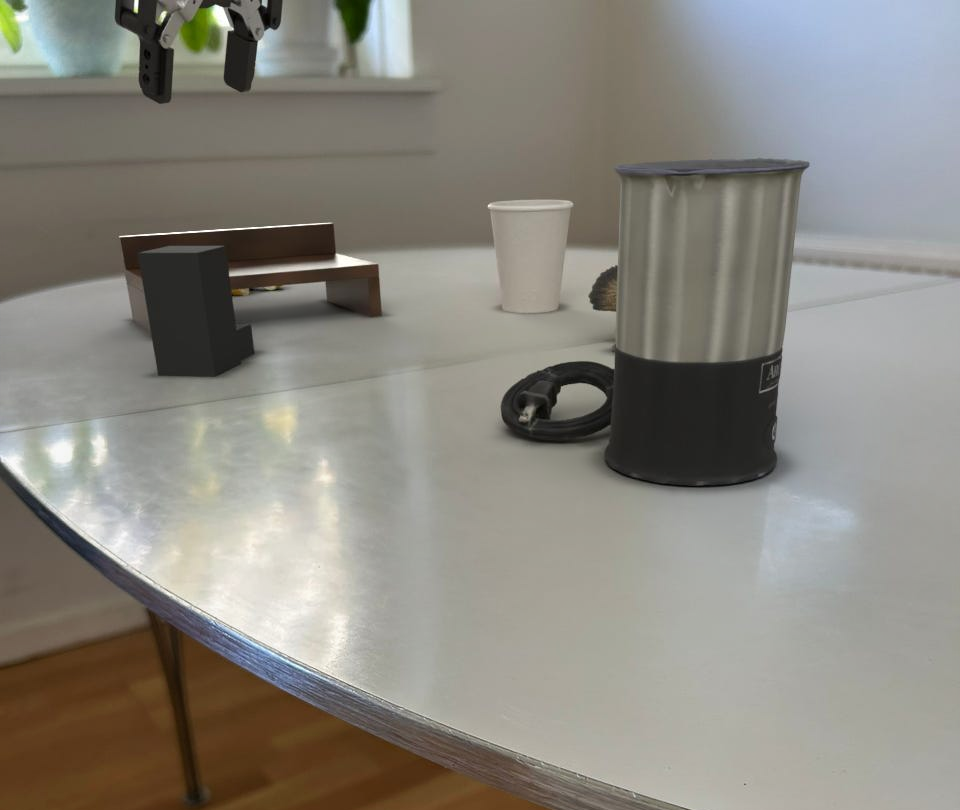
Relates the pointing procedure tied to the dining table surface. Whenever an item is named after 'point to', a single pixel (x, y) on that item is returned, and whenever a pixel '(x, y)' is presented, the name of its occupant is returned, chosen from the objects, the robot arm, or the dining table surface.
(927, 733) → the dining table surface
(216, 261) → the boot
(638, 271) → the milk frother
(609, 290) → the eagle figurine
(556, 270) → the dixie cup
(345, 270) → the wooden bench
